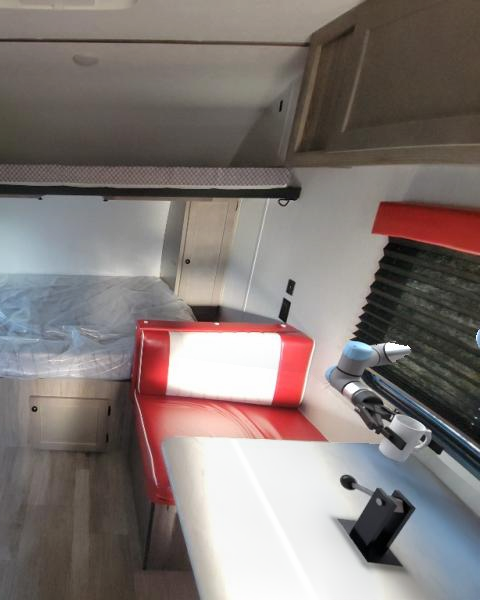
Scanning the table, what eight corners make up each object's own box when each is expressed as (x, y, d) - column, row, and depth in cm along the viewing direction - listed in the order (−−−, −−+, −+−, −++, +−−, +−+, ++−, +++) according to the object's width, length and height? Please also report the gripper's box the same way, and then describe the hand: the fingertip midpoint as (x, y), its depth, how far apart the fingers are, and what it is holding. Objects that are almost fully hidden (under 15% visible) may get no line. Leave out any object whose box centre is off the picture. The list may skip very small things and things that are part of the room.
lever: (336, 486, 87) (336, 471, 88) (350, 487, 87) (349, 473, 88) (390, 514, 72) (389, 496, 73) (406, 516, 72) (406, 498, 73)
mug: (384, 458, 98) (403, 426, 94) (373, 442, 104) (389, 411, 100) (425, 469, 96) (446, 437, 91) (411, 452, 102) (430, 421, 97)
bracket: (335, 521, 84) (361, 476, 78) (367, 525, 83) (395, 480, 78) (364, 565, 74) (396, 517, 68) (400, 570, 74) (435, 522, 68)
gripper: (391, 411, 115) (455, 463, 94) (326, 403, 115) (376, 454, 95) (400, 393, 112) (469, 443, 92) (334, 385, 113) (388, 433, 92)
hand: (422, 448), depth 93 cm, fingers closed on mug, 10 cm apart
